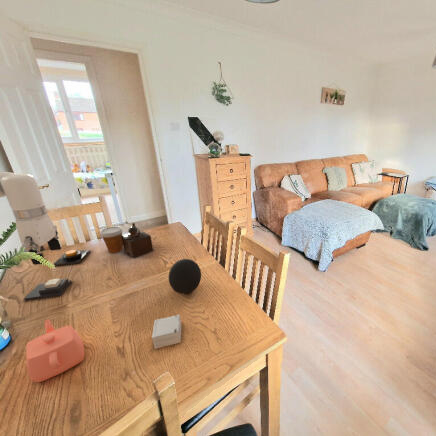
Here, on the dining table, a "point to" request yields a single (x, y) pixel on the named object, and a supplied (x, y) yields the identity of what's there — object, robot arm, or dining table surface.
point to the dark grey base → (48, 291)
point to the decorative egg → (184, 276)
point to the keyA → (52, 283)
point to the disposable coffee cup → (112, 239)
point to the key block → (72, 258)
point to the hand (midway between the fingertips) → (48, 256)
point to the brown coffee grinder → (136, 242)
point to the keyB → (71, 253)
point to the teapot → (53, 352)
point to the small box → (166, 331)
